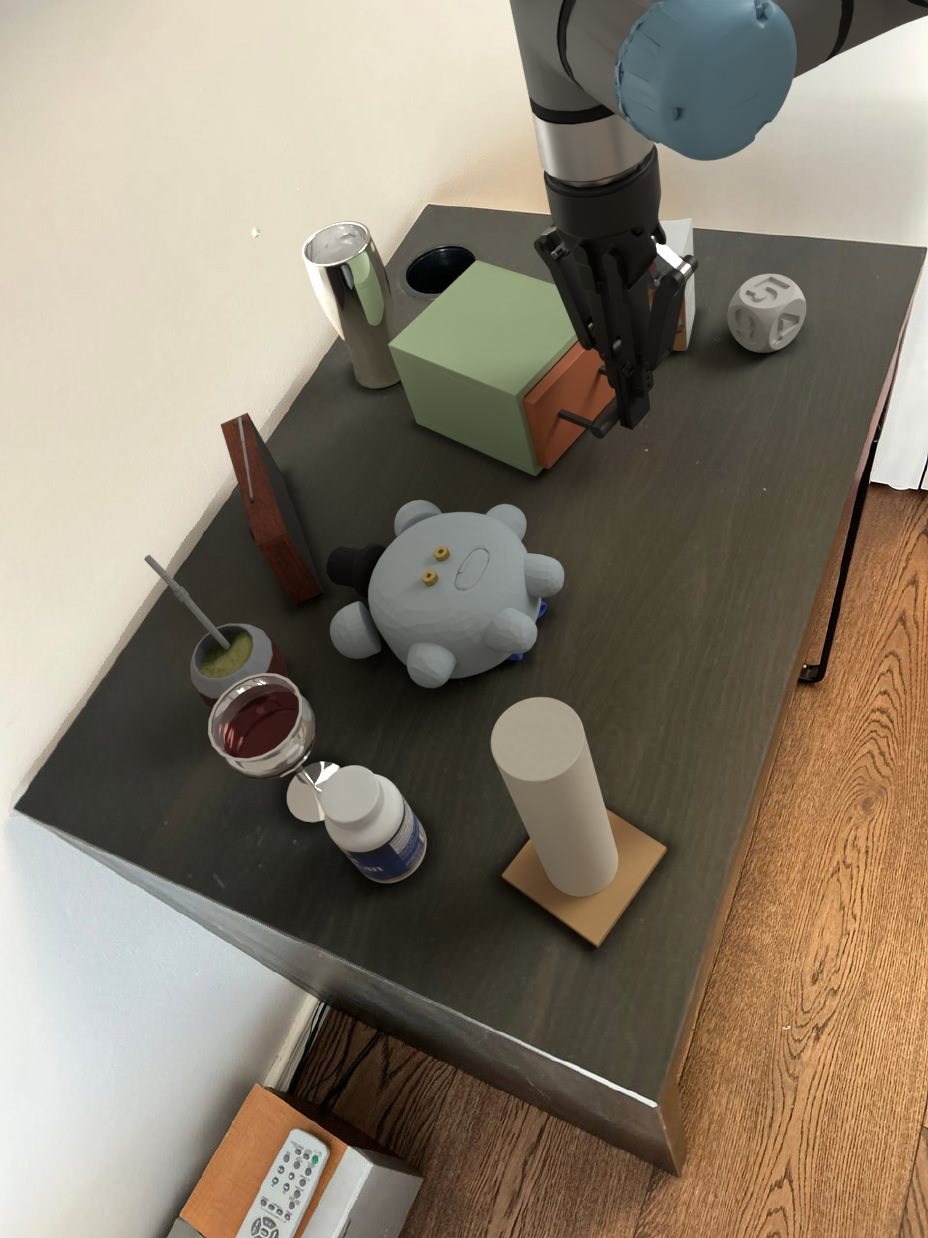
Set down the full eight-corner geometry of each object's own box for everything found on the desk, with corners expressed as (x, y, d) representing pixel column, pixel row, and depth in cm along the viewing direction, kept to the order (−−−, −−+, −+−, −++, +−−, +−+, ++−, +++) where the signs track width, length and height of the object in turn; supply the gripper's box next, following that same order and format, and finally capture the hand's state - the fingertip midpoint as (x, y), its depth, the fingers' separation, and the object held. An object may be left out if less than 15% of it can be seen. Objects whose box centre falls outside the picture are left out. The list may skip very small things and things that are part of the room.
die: (805, 331, 89) (809, 286, 85) (767, 361, 88) (768, 316, 84) (764, 310, 92) (765, 265, 88) (726, 338, 91) (725, 294, 87)
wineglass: (350, 739, 76) (294, 658, 66) (368, 814, 72) (311, 740, 62) (269, 769, 76) (201, 693, 66) (283, 846, 72) (213, 777, 62)
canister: (633, 851, 65) (603, 725, 51) (589, 912, 63) (545, 799, 49) (573, 812, 68) (528, 681, 53) (529, 869, 66) (471, 750, 52)
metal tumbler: (391, 399, 97) (342, 272, 85) (338, 383, 101) (284, 260, 89) (429, 353, 100) (386, 225, 88) (376, 339, 103) (329, 214, 91)
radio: (253, 486, 95) (182, 369, 83) (282, 474, 95) (215, 355, 83) (297, 625, 84) (222, 513, 72) (329, 611, 84) (260, 496, 72)
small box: (604, 351, 94) (591, 258, 86) (615, 313, 97) (603, 219, 88) (688, 351, 91) (683, 256, 83) (696, 312, 94) (692, 215, 86)
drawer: (669, 403, 87) (663, 333, 81) (593, 489, 83) (581, 423, 77) (510, 344, 96) (494, 278, 90) (436, 420, 93) (414, 356, 86)
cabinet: (617, 386, 91) (606, 300, 83) (535, 476, 87) (515, 395, 79) (497, 341, 99) (476, 259, 91) (416, 423, 94) (387, 344, 87)
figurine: (602, 556, 80) (403, 524, 90) (578, 485, 73) (367, 459, 83) (517, 734, 72) (311, 678, 82) (482, 673, 66) (263, 619, 76)
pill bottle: (344, 873, 70) (294, 819, 62) (374, 805, 72) (330, 746, 64) (410, 895, 67) (368, 842, 60) (439, 825, 70) (402, 765, 62)
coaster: (667, 850, 65) (666, 847, 65) (597, 948, 63) (596, 945, 62) (571, 789, 69) (570, 785, 69) (502, 878, 67) (501, 875, 66)
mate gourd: (293, 743, 77) (211, 640, 65) (204, 739, 79) (109, 639, 67) (315, 662, 81) (242, 552, 69) (230, 661, 83) (145, 553, 71)
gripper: (715, 138, 61) (726, 411, 80) (555, 109, 68) (599, 368, 87) (648, 207, 59) (675, 472, 77) (489, 170, 65) (549, 422, 84)
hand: (635, 417), depth 82 cm, fingers closed
